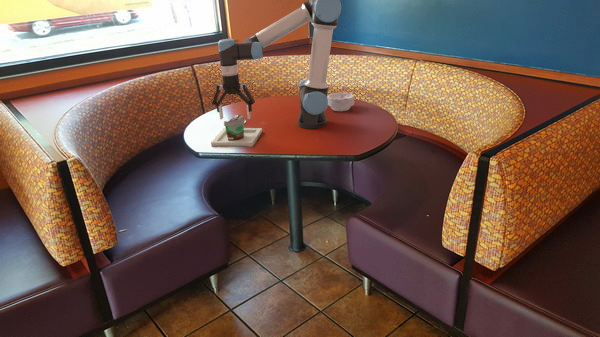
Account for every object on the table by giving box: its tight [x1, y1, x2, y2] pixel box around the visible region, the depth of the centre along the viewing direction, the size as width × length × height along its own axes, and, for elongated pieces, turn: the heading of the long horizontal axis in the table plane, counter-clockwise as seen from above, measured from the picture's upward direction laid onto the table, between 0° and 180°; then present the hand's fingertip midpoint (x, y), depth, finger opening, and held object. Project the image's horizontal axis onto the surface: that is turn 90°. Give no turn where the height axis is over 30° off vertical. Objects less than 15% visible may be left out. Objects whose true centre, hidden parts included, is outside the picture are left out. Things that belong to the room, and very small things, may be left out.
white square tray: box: [210, 127, 263, 148], centre depth 219 cm, size 20×20×2 cm
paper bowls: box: [327, 92, 355, 112], centre depth 254 cm, size 15×15×8 cm
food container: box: [223, 113, 246, 141], centre depth 217 cm, size 12×6×10 cm, turn 151°
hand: (235, 118), depth 216 cm, fingers open, 13 cm apart
